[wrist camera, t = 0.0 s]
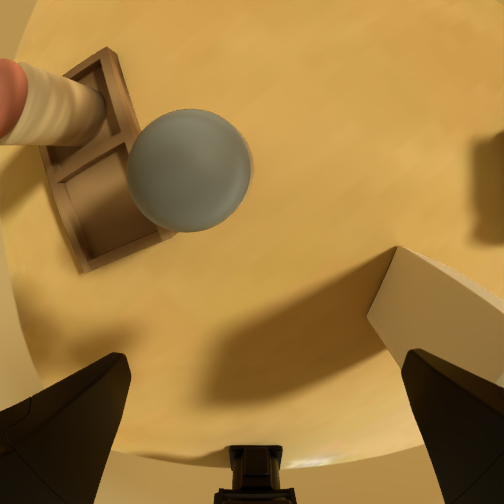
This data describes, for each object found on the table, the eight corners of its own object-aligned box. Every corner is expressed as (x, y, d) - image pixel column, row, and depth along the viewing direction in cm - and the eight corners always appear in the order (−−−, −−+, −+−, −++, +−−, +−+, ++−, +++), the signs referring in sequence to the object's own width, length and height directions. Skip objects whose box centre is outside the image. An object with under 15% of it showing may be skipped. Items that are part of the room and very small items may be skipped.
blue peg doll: (252, 202, 21) (253, 250, 9) (186, 203, 21) (107, 250, 9) (252, 135, 20) (254, 88, 8) (185, 137, 20) (102, 104, 8)
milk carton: (364, 316, 24) (472, 496, 6) (397, 243, 22) (577, 375, 4) (419, 330, 25) (524, 466, 6) (450, 266, 23) (594, 373, 4)
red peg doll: (105, 142, 19) (-20, 133, 7) (58, 150, 19) (-61, 157, 7) (108, 82, 17) (-2, 33, 5) (61, 96, 17) (-50, 71, 5)
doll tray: (179, 231, 22) (172, 237, 20) (95, 265, 23) (84, 273, 21) (116, 54, 17) (106, 46, 15) (42, 104, 18) (29, 102, 16)
